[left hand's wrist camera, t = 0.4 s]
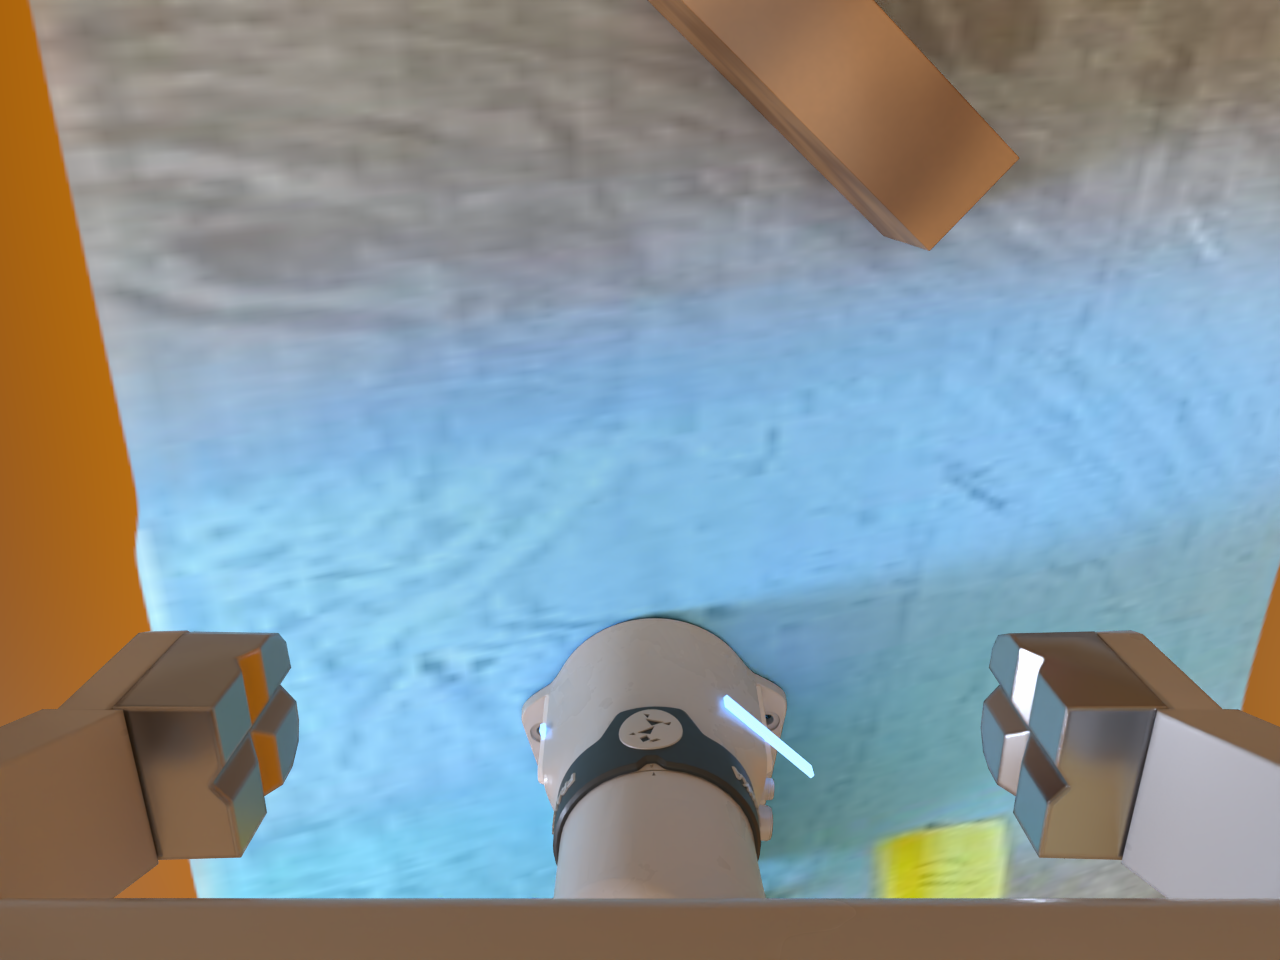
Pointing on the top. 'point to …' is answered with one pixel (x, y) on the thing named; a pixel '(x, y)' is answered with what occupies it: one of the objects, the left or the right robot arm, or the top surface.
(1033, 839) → the left robot arm
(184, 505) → the top surface
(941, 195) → the bar
